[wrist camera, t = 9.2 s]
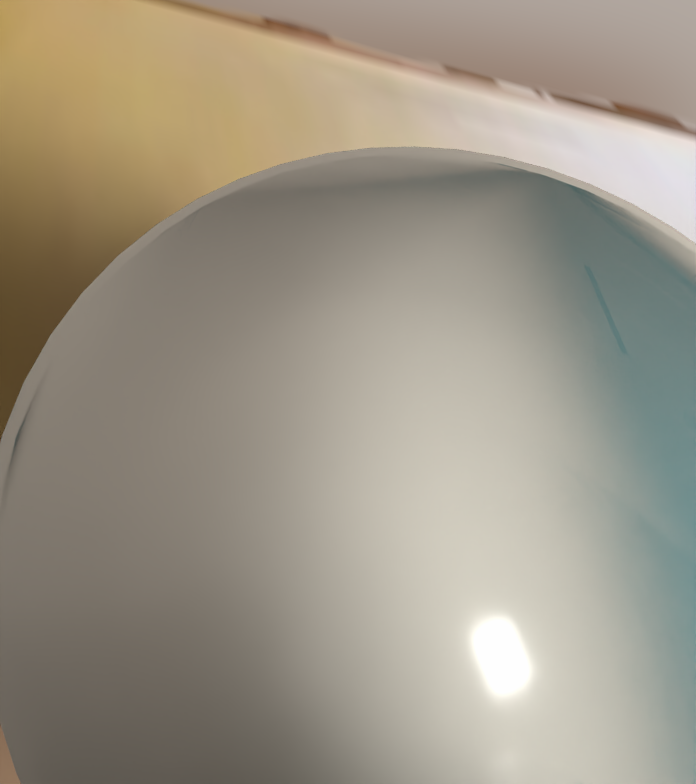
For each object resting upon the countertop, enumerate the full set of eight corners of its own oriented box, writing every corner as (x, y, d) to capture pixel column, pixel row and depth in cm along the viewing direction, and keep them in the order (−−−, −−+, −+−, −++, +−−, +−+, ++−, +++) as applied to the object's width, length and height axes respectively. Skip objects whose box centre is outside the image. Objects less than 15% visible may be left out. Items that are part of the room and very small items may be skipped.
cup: (525, 706, 16) (1119, 707, 4) (267, 861, 14) (188, 1506, 3) (395, 465, 18) (570, 79, 7) (162, 571, 16) (-109, 278, 5)
